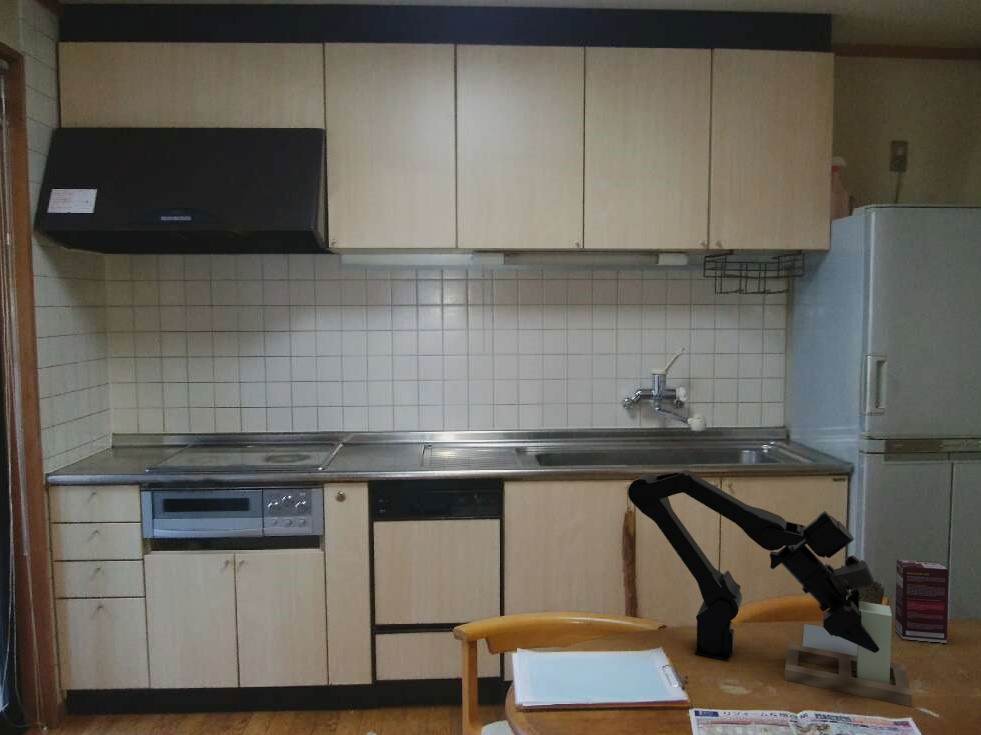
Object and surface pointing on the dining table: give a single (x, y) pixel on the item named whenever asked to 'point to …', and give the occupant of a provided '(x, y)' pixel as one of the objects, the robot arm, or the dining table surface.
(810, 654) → the puzzle board
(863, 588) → the dark olive textured piece
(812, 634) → the grey mat
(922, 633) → the supplement box
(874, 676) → the sage block
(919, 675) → the dining table surface
